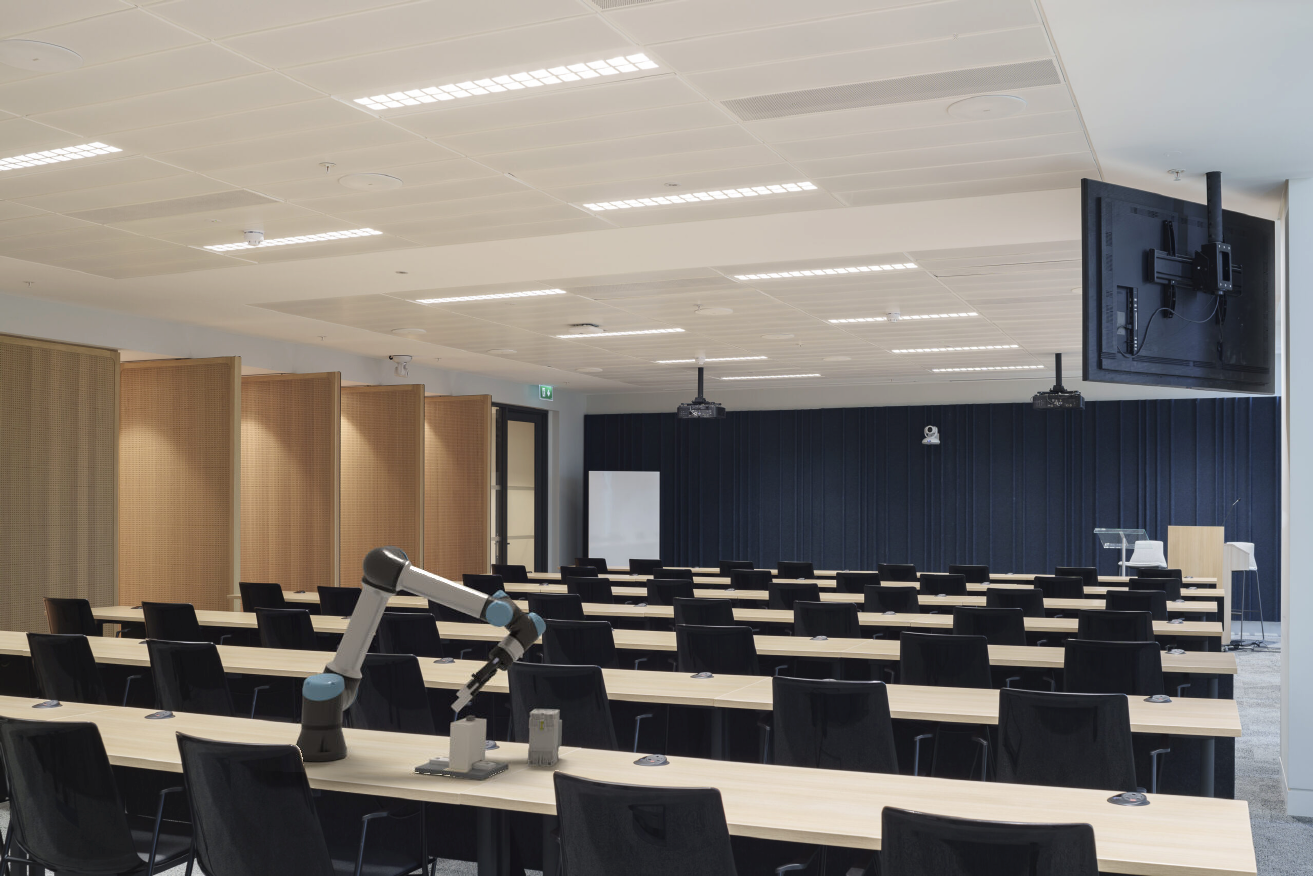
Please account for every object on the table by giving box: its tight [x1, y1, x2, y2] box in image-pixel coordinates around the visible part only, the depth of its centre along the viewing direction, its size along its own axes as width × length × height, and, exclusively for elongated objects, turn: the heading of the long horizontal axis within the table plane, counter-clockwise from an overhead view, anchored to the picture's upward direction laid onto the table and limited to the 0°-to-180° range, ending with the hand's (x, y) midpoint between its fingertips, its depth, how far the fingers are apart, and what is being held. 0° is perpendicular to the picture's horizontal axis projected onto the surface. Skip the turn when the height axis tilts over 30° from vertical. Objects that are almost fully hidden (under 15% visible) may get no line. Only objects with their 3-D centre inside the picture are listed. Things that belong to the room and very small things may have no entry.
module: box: [448, 714, 487, 770], centre depth 311 cm, size 6×10×14 cm, turn 161°
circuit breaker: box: [527, 708, 563, 767], centre depth 327 cm, size 8×14×15 cm, turn 174°
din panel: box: [414, 756, 509, 781], centre depth 310 cm, size 21×16×3 cm
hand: (456, 703), depth 326 cm, fingers open, 13 cm apart
